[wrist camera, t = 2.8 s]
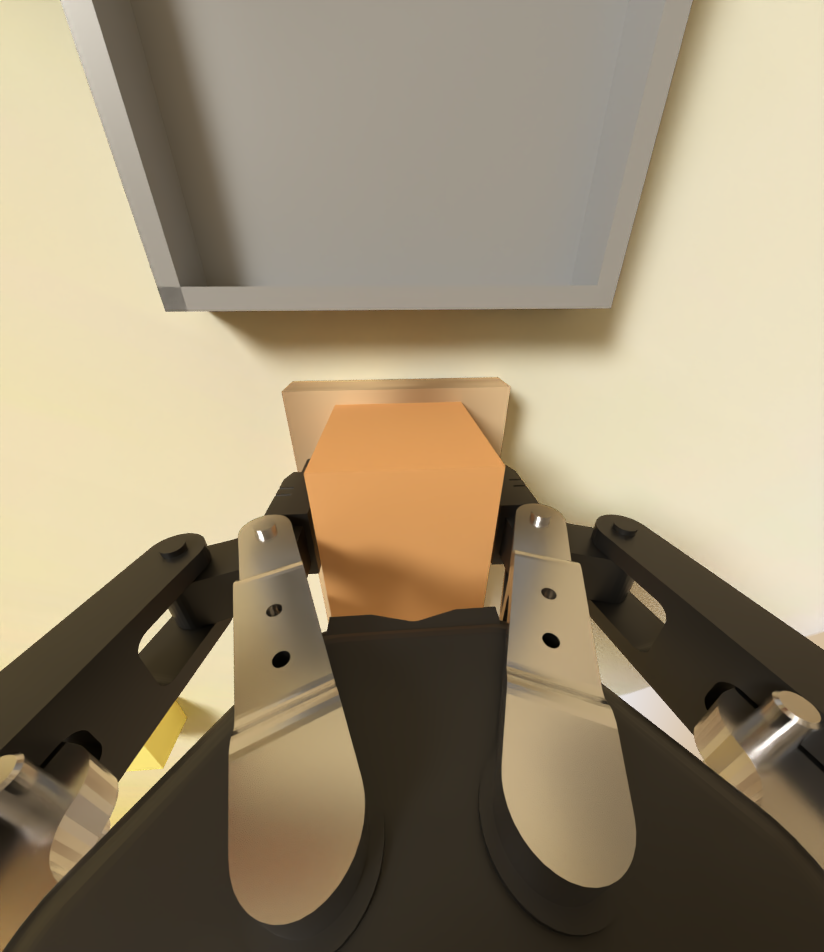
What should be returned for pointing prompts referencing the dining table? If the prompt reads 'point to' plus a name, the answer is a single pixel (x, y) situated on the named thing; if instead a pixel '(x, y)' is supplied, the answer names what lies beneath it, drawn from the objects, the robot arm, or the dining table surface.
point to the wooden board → (317, 399)
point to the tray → (381, 145)
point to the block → (404, 509)
